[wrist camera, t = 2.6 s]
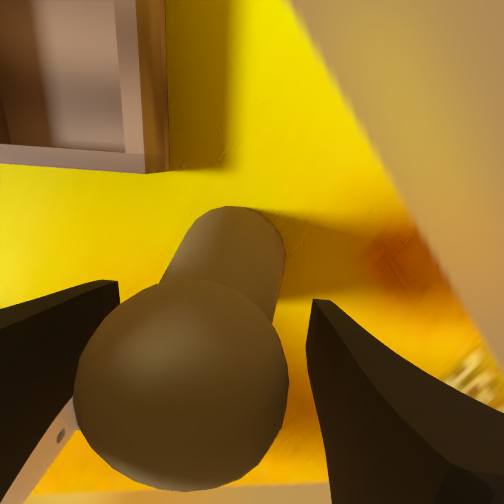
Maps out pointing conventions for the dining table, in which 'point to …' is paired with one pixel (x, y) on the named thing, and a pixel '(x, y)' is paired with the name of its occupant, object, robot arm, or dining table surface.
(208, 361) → the pepper mill
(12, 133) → the spice rack
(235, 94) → the dining table surface
